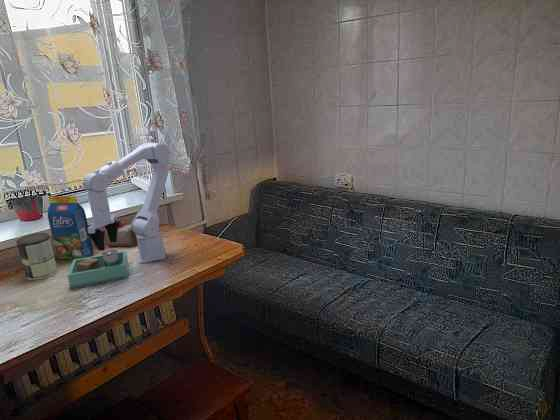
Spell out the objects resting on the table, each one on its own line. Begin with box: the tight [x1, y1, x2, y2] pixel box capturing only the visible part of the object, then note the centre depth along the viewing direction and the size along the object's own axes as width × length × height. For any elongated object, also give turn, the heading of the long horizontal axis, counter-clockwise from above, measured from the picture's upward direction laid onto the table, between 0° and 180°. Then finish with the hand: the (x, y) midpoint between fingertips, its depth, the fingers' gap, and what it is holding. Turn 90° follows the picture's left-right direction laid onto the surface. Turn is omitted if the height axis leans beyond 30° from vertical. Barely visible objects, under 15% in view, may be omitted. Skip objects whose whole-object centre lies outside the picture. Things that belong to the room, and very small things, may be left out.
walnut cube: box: [77, 258, 100, 272], centre depth 145 cm, size 5×5×5 cm
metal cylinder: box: [101, 248, 120, 267], centre depth 147 cm, size 5×5×7 cm
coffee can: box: [16, 232, 58, 281], centre depth 150 cm, size 10×10×14 cm
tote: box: [67, 250, 129, 290], centre depth 147 cm, size 18×14×5 cm
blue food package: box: [47, 195, 94, 261], centre depth 162 cm, size 6×12×25 cm, turn 78°
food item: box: [103, 220, 138, 247], centre depth 175 cm, size 14×8×10 cm, turn 76°
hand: (107, 245), depth 145 cm, fingers open, 7 cm apart
